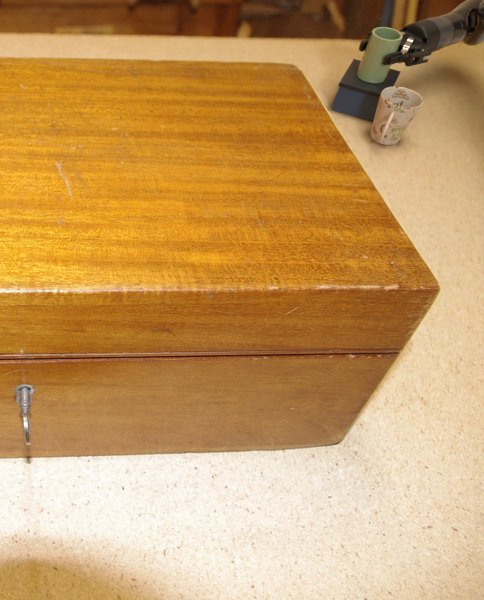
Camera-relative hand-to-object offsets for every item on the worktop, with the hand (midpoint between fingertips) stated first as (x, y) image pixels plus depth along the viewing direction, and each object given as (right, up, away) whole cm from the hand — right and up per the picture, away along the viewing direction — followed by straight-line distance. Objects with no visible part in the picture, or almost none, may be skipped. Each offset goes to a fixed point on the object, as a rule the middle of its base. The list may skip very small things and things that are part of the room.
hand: (373, 53), depth 153 cm
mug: (+2, -19, 0) cm, 20 cm away
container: (+2, -8, +10) cm, 13 cm away
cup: (+2, -3, +5) cm, 6 cm away
